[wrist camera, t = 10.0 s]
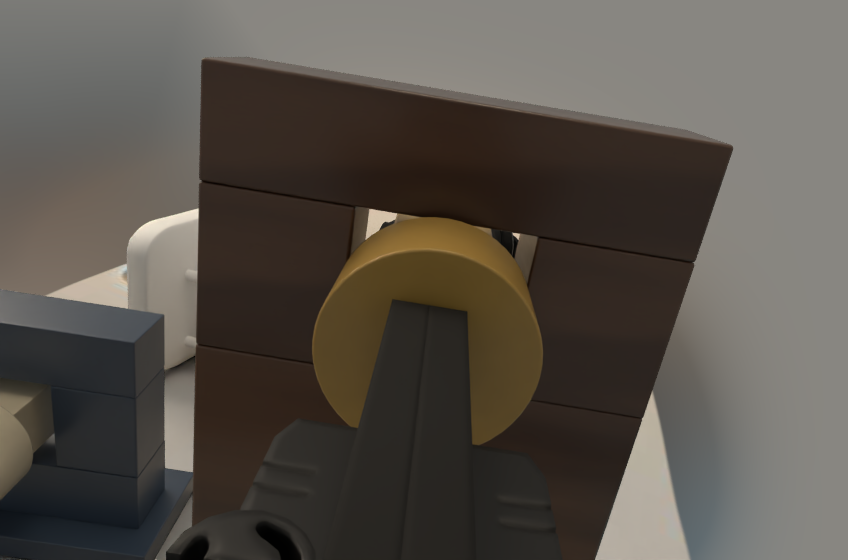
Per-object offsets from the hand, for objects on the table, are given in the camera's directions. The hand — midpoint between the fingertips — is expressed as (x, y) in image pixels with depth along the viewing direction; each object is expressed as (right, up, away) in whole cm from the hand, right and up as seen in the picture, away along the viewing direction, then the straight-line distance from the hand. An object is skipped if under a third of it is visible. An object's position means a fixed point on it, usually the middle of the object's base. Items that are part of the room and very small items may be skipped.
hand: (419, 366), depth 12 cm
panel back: (-20, -10, +19) cm, 29 cm away
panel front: (-2, -16, +11) cm, 20 cm away
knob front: (0, -1, +4) cm, 4 cm away
